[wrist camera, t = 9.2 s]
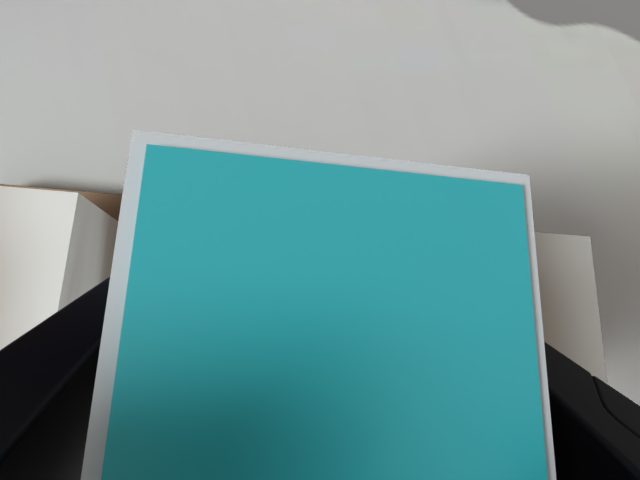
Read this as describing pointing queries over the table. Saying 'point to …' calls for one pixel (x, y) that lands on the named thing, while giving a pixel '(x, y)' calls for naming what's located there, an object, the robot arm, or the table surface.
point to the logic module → (318, 320)
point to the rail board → (98, 249)
